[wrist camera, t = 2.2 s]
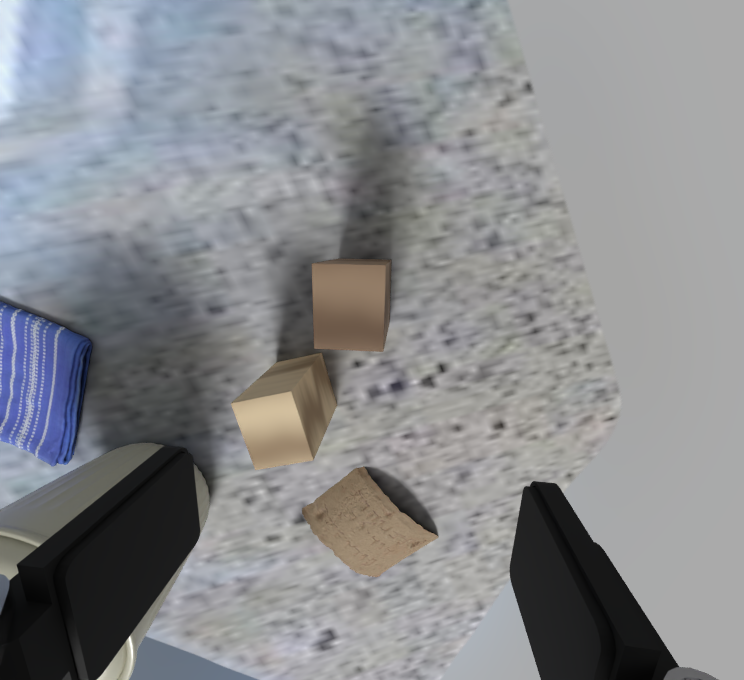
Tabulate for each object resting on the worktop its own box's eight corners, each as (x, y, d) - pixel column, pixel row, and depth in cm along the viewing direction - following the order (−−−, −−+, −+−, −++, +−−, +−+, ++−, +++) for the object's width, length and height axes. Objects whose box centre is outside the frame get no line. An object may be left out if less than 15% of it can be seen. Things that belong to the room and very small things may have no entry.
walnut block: (338, 258, 33) (311, 263, 24) (391, 259, 33) (385, 265, 23) (339, 320, 35) (314, 348, 25) (389, 322, 34) (383, 351, 25)
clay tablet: (298, 504, 42) (291, 521, 39) (357, 454, 39) (353, 468, 37) (384, 577, 44) (383, 599, 41) (445, 534, 41) (447, 553, 38)
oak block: (276, 362, 37) (230, 403, 27) (321, 352, 36) (291, 391, 26) (293, 413, 38) (255, 470, 28) (337, 405, 37) (313, 460, 28)
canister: (217, 565, 45) (61, 829, 24) (84, 514, 45) (-184, 738, 24) (253, 450, 40) (95, 663, 20) (104, 393, 40) (-212, 547, 19)
